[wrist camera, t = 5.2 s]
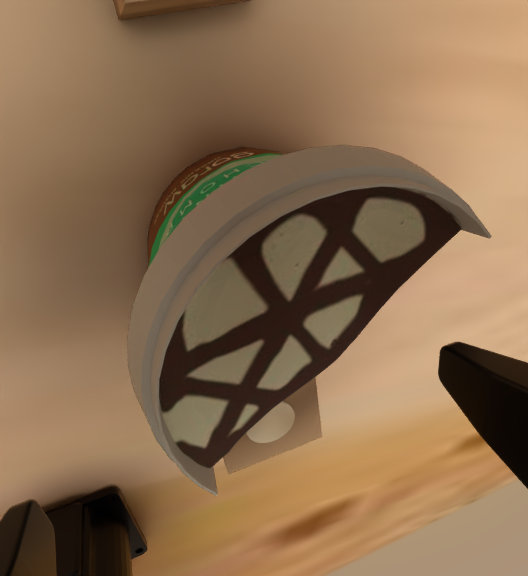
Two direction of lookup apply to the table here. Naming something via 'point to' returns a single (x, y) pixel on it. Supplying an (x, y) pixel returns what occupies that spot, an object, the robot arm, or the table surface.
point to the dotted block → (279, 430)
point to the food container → (271, 282)
